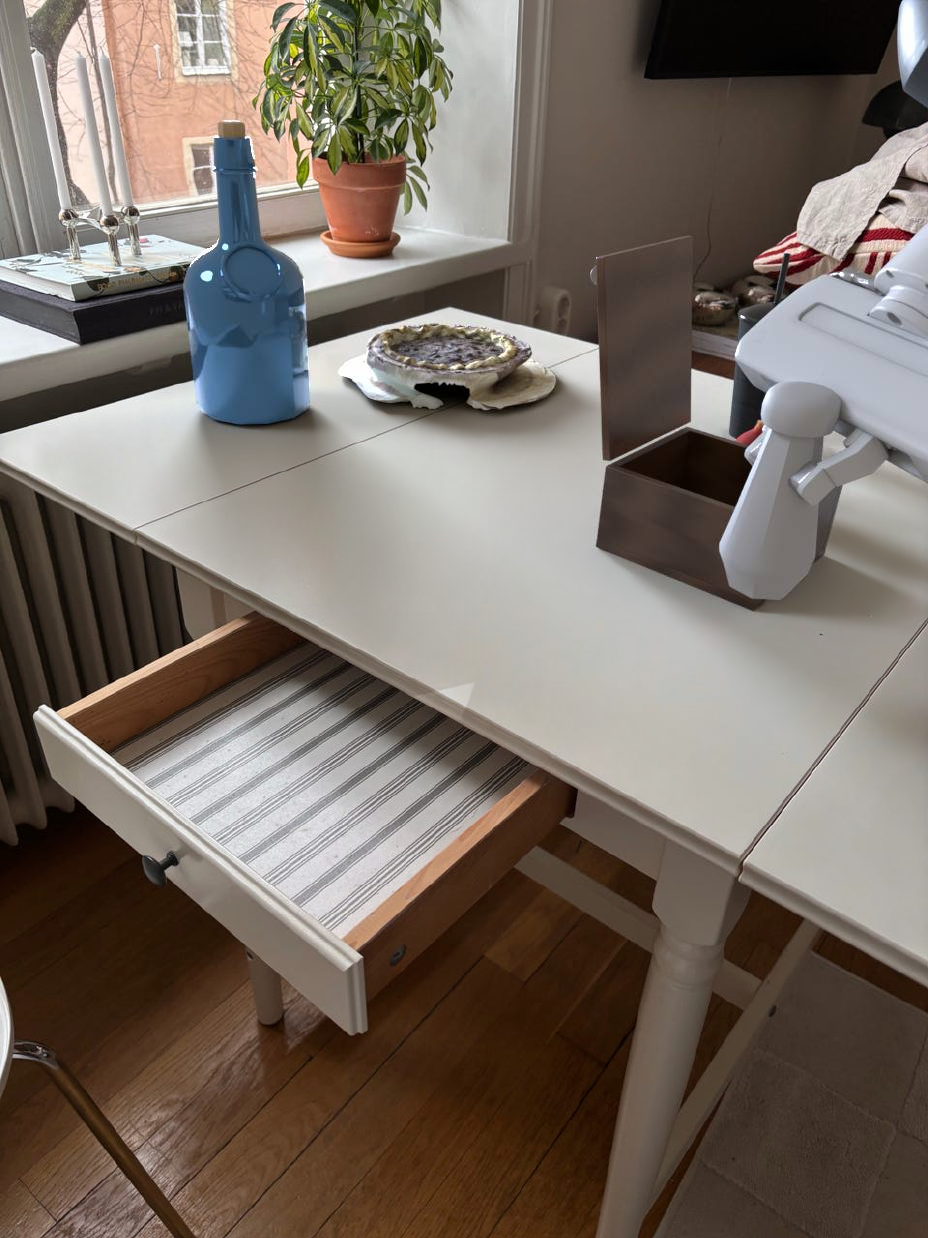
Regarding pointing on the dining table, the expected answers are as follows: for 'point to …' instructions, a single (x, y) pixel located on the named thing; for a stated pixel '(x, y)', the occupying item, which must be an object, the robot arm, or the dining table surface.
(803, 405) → the salt shaker
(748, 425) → the drinking cup
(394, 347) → the pie
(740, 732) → the dining table surface
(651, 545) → the chest
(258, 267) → the wine bottle
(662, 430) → the chest lid
